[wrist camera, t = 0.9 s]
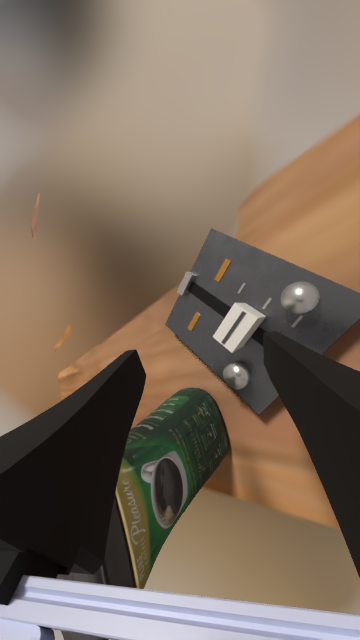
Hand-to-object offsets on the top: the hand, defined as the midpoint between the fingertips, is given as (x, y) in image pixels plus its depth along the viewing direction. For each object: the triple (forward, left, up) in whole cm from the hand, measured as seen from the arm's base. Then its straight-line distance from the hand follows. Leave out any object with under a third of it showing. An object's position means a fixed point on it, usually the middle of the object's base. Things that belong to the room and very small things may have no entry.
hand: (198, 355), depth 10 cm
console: (+3, 0, -12) cm, 13 cm away
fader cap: (+1, 0, -10) cm, 10 cm away
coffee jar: (-1, +16, -13) cm, 20 cm away
